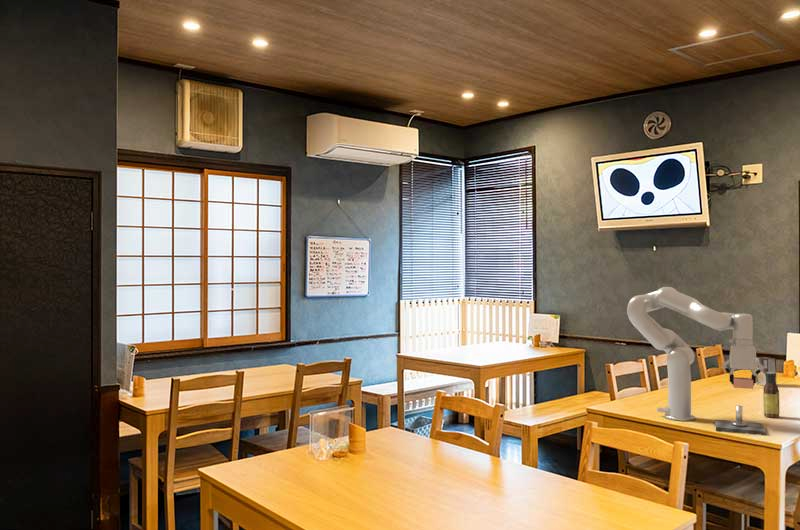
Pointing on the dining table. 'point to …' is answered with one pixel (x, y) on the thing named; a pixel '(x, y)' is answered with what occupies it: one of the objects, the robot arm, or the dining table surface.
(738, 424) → the metal post
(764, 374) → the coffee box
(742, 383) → the square ring block
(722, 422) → the base plate
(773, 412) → the sauce bottle
